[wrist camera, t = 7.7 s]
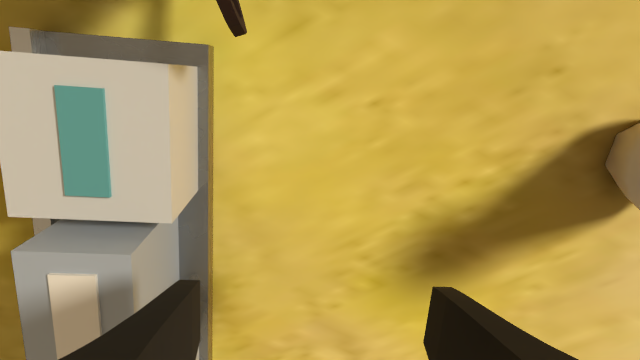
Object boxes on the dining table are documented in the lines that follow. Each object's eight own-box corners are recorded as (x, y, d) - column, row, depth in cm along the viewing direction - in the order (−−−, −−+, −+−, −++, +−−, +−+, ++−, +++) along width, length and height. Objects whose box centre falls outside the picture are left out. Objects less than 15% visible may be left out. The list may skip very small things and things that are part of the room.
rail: (211, 411, 24) (204, 443, 22) (78, 412, 24) (58, 445, 22) (213, 46, 19) (203, 43, 17) (39, 32, 18) (6, 26, 16)
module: (198, 190, 19) (170, 225, 15) (72, 184, 19) (4, 218, 14) (197, 66, 18) (166, 63, 13) (60, 55, 17) (-19, 49, 13)
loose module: (180, 306, 21) (137, 396, 15) (103, 304, 21) (28, 396, 15) (177, 201, 19) (129, 256, 14) (94, 197, 19) (7, 252, 13)
